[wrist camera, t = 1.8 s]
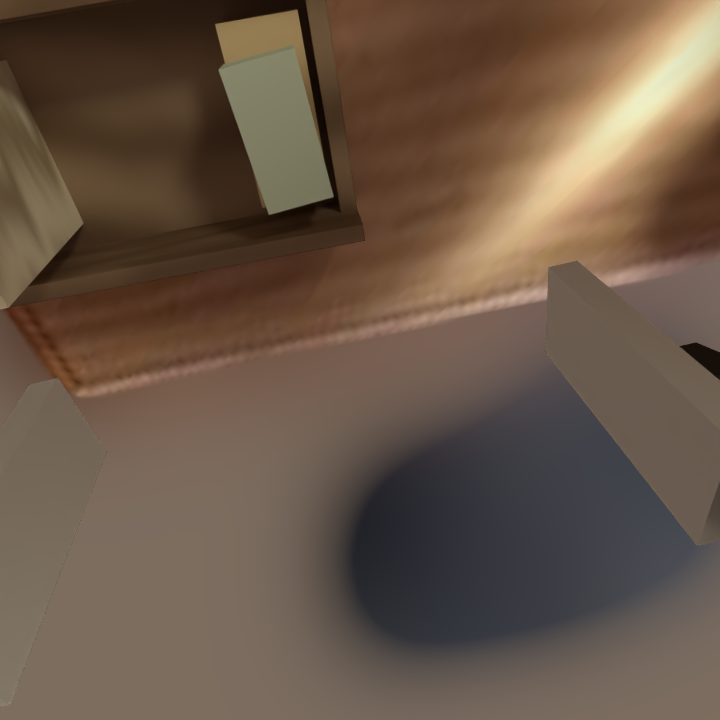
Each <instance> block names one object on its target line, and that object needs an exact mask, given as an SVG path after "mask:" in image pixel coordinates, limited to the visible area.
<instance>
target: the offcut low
mask: <svg viewBox="0 0 720 720" xmlns="http://www.w3.org/2000/svg"><path fill="white" fill-rule="evenodd" d="M215 26H216V30H217V34H218V38H219V42H220V46H221V50H222V54H223V57H224V61H225V64H226V63H230V62H233V61H237V60H240V59H244V58H247V57H251V56H254V55H258V54H261V53H265V52H268V51H272V50H275V49H279V48H282V47H286V46H289V45H293V46H294V49H295V52H296V56H297V60H298V64H299V68H300V71H301V75H302V79H303V83H304V86H305V90H306V94H307V98H308V102H309V105H310V109H311V113H312V117H313V120H314V124H315V128H316V132H317V136H318V139H319V143H320V147H321V151H322V145H321V140H320V134H319V128H318V123H317V117H316V111H315V106H314V100H313V94H312V89H311V83H310V78H309V72H308V66H307V61H306V55H305V49H304V44H303V38H302V32H301V27H300V21H299V15H298V10H297V9H292V10H287V11H281V12H275V13H270V14H264V15H258V16H253V17H247V18H241V19H236V20H230V21H224V22H220V23H217V24H215ZM322 154H323V151H322ZM323 158H324V157H323ZM251 166H252V165H251ZM252 170H253V168H252ZM253 174H254V171H253ZM254 177H255V181H256V185H257V189H258V193H259V197H260V201H261V204H262V208H265V207H266V205H265V202H264V199H263V197H262V194H261V191H260V188H259V185H258V182H257V179H256V176H255V174H254Z"/></svg>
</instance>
